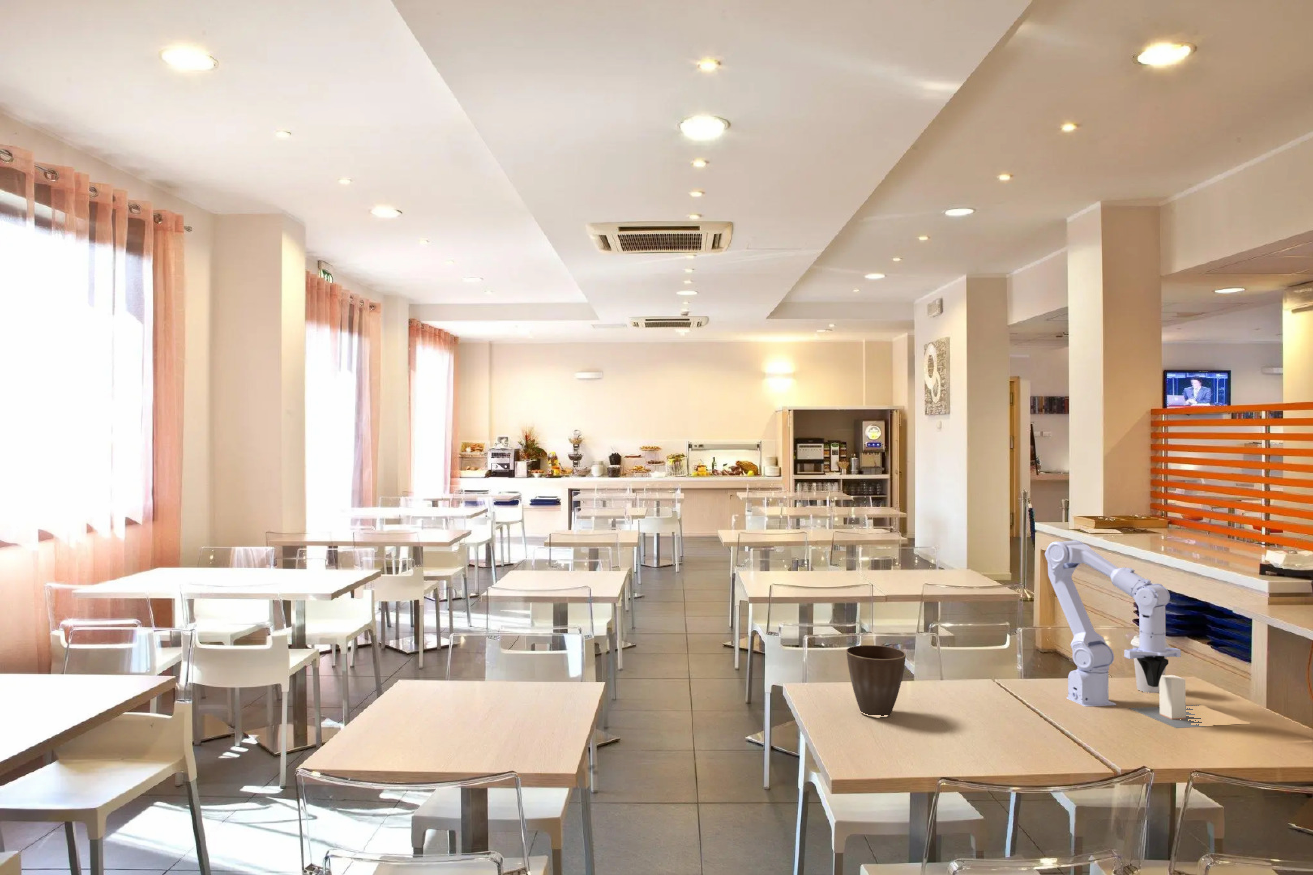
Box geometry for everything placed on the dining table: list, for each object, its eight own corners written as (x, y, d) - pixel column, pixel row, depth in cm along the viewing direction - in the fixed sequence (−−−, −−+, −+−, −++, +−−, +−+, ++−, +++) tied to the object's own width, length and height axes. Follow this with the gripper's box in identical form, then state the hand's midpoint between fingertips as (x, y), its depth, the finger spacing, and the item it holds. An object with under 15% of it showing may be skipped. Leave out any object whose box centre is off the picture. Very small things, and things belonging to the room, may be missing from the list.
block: (1171, 719, 207) (1171, 679, 208) (1159, 714, 211) (1159, 675, 212) (1185, 718, 208) (1185, 678, 208) (1173, 713, 212) (1173, 674, 212)
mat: (1176, 729, 201) (1176, 727, 201) (1128, 709, 217) (1128, 708, 217) (1254, 725, 204) (1254, 723, 204) (1202, 706, 220) (1202, 704, 220)
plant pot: (918, 719, 208) (918, 655, 208) (869, 726, 202) (869, 660, 202) (881, 702, 221) (881, 643, 222) (834, 708, 216) (834, 647, 216)
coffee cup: (1123, 688, 237) (1122, 636, 237) (1145, 684, 241) (1144, 633, 241) (1155, 697, 228) (1155, 642, 229) (1177, 693, 232) (1177, 639, 233)
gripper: (1138, 636, 204) (1138, 691, 204) (1190, 634, 207) (1190, 689, 206) (1118, 630, 211) (1118, 683, 211) (1168, 628, 214) (1168, 681, 213)
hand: (1152, 685), depth 209 cm, fingers closed
